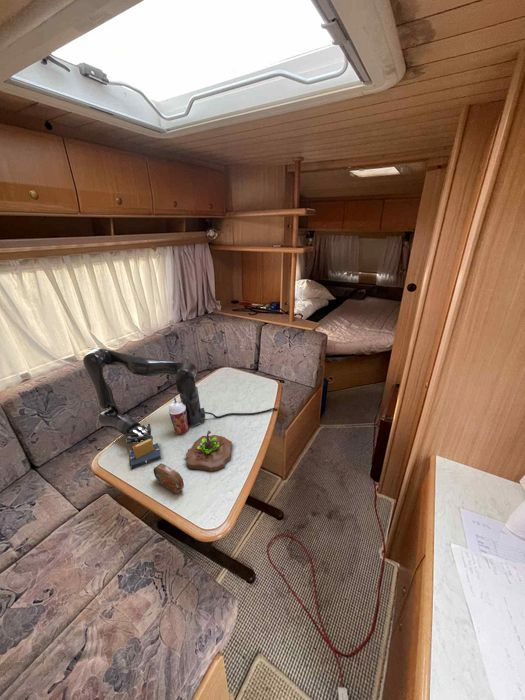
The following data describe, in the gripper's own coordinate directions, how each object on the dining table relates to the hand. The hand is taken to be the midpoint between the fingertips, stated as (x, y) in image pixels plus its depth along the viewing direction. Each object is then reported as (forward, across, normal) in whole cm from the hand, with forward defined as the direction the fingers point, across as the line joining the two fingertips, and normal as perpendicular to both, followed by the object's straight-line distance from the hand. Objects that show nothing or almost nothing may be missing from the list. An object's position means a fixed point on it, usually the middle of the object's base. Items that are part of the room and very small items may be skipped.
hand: (150, 440), depth 123 cm
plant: (+23, +13, +7) cm, 28 cm away
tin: (+21, -8, +7) cm, 24 cm away
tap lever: (0, -4, +5) cm, 6 cm away
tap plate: (0, -4, +7) cm, 8 cm away
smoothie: (0, +17, +7) cm, 18 cm away
